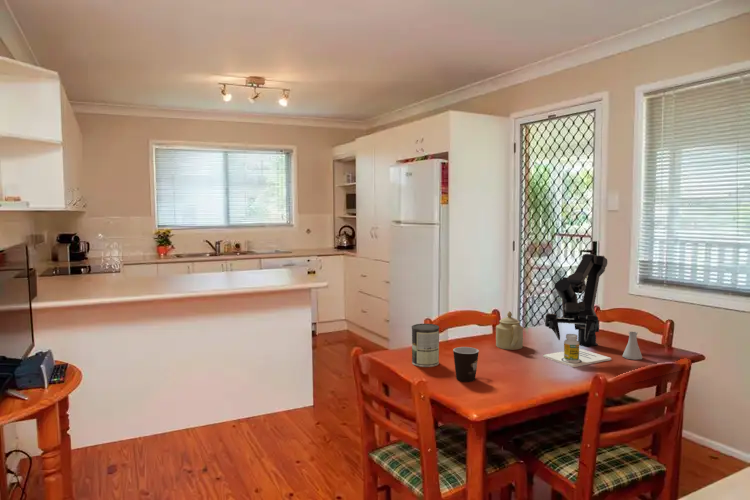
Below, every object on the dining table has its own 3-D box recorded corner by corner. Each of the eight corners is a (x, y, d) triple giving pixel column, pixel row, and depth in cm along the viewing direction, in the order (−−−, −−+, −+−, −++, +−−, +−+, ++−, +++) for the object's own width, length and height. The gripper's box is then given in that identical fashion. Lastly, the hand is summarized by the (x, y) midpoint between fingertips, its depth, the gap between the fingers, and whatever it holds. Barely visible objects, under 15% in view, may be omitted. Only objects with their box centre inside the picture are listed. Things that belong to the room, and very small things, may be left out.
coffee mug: (461, 384, 173) (462, 355, 172) (448, 376, 181) (448, 348, 180) (490, 379, 177) (491, 350, 177) (476, 372, 185) (476, 344, 185)
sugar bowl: (535, 350, 214) (535, 314, 213) (514, 353, 209) (515, 316, 208) (510, 341, 227) (510, 307, 226) (490, 345, 222) (490, 310, 221)
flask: (645, 360, 198) (646, 334, 198) (624, 359, 200) (625, 334, 199) (639, 355, 205) (640, 330, 205) (619, 354, 207) (620, 329, 206)
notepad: (543, 357, 204) (543, 354, 204) (579, 350, 213) (579, 348, 213) (573, 367, 191) (573, 364, 191) (611, 360, 200) (611, 357, 199)
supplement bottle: (573, 357, 200) (574, 332, 199) (582, 361, 194) (582, 336, 194) (560, 358, 199) (561, 333, 198) (569, 362, 193) (569, 337, 193)
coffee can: (406, 363, 197) (406, 326, 196) (423, 357, 204) (423, 322, 203) (427, 369, 190) (427, 331, 189) (444, 363, 197) (444, 326, 196)
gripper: (546, 292, 201) (547, 327, 191) (598, 294, 196) (602, 330, 186) (544, 309, 209) (545, 343, 199) (594, 311, 204) (598, 346, 194)
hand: (572, 340), depth 194 cm, fingers open, 9 cm apart
